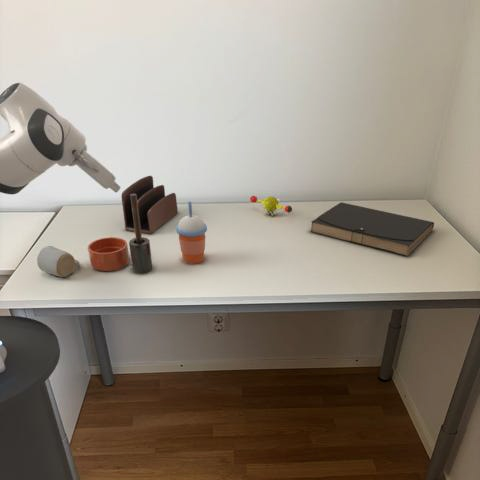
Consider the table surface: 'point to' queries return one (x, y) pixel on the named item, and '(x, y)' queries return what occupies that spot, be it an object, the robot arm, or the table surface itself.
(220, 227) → the table surface
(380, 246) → the black book
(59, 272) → the ceramic mug
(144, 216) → the letter holder
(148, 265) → the tube
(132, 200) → the stick
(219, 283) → the table surface
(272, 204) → the toy figure
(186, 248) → the cup with straw
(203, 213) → the table surface
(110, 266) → the bowl
